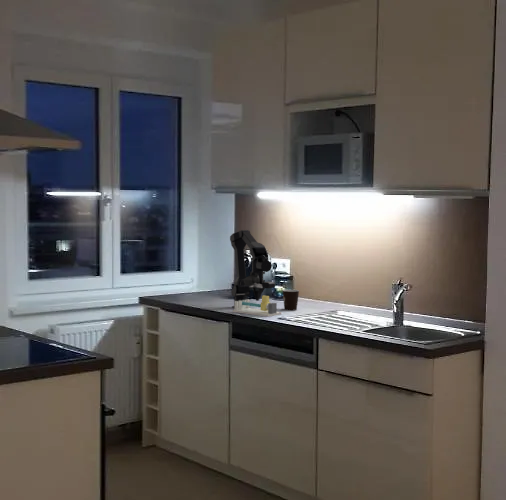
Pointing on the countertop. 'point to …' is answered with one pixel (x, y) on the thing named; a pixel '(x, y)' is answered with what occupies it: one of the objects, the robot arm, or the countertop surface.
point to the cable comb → (251, 309)
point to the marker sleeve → (264, 303)
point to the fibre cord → (270, 306)
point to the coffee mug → (290, 299)
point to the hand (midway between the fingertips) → (257, 300)
